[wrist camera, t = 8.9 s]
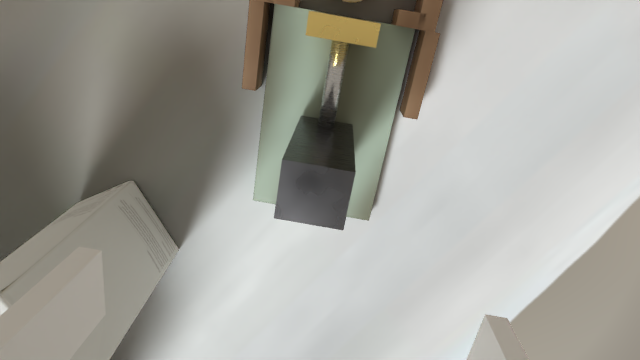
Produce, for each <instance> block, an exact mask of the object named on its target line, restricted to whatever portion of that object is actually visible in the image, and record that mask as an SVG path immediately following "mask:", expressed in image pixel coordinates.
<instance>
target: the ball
mask: <svg viewBox="0 0 640 360" xmlns="http://www.w3.org/2000/svg"><path fill="white" fill-rule="evenodd" d="M342 1H344V2H348V3H355V2H360V1H362V0H342Z"/></svg>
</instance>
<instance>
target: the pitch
mask: <svg viewBox="0 0 640 360" xmlns="http://www.w3.org/2000/svg"><path fill="white" fill-rule="evenodd" d="M270 3H274V4H275V5H274V14H273V23H272V32H271V41H270V50H269V59H268V68H267V77H266V86H265V96H264V105H263V114H262V123H261V132H260V141H259V150H258V159H257V168H256V177H255V186H254V196H253V200H254V201H259V202H265V203H271V204H276V200H277V193H278V185H279V178H280V170H281V163H282V158H283V156H284V154H285V151H286V149H287V147H288V144H289V142H290V140H291V138H292V135H293V133H294V131H295V128H296V126H297V124H298V121H299V119H300V117H301V115H303V116H308V117H314V118H319V114H320V108H321V102H322V96H323V90H324V84H325V78H326V72H327V66H328V60H329V54H330V48H331V42H332V40H329V39H324V38H318V37H312V36H307V35H306V27H307V20H308V13H309V11H315V10H309V9H303V8H299V4H300V0H249V12H248V23H247V35H246V46H245V58H244V69H243V81H242V88H243V89H249V90H254V91H256V90H257V89H258V88H259V87H260V86H261V85H262V78H263V69H264V59H265V50H266V41H267V31H268V22H269V12H270ZM442 3H443V0H417V1H416V5H415V9H414V12H413V11H407V10H401V9H394V14H393V18H392V23H391V24H387V23H381V22H377V23H380V24H381V26H380V31H379V36H378V40H377V45H376V48H374V47H368V46H363V45H357V44H352V43H349V48H348V54H347V59H346V65H345V70H344V75H343V81H342V86H341V92H340V97H339V103H338V108H337V113H336V119H335V121H337V122H342V123H348V124H353V137H354V153H355V169H356V174H355V178H354V183H353V187H352V192H351V197H350V201H349V206H348V211H347V215H346V217H351V218H357V219H362V220H368V221H369V218H370V214H371V210H372V206H373V201H374V197H375V193H376V189H377V185H378V181H379V177H380V173H381V168H382V164H383V160H384V156H385V152H386V148H387V144H388V140H389V136H390V131H391V127H392V123H393V119H394V115H395V111H396V107H397V103H398V98H399V94H400V90H401V86H402V82H403V78H404V74H405V70H406V65H407V61H408V57H409V53H410V49H411V45H412V41H413V37H414V33H415V29H418V30H419V33H418V38H417V42H416V46H415V50H414V54H413V58H412V62H411V66H410V70H409V74H408V78H407V82H406V86H405V90H404V94H403V98H402V102H401V106H400V111H401V113H402V115H403V117H406V118H412V119H417V118H418V115H419V111H420V107H421V103H422V100H423V96H424V92H425V88H426V85H427V81H428V77H429V73H430V70H431V66H432V62H433V58H434V55H435V51H436V47H437V43H438V40H439V36H440V33H436V32H435V29H436V26H437V22H438V18H439V14H440V10H441V7H442ZM316 12H320V11H316ZM322 13H326V12H322ZM327 14H331V13H327ZM333 15H337V14H333ZM339 16H342V15H339ZM344 17H348V16H344ZM350 18H354V17H350ZM355 19H359V18H355ZM361 20H365V19H361ZM366 21H370V20H366ZM372 22H376V21H372Z"/></svg>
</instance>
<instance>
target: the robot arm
mask: <svg viewBox="0 0 640 360" xmlns="http://www.w3.org/2000/svg"><path fill="white" fill-rule="evenodd" d="M105 314H106V312H105V296H104V279H103V263H102V250H97V249H91V248H85V247H78V248H77V249H76V250H75V251H73V252H72V253H71V254H70V255H69V256H68V257H67V258H65V259H64V260H63V261H62V262H61V263H60V264H59V265H57V266H56V267H55V268H54V269H53V270H52V271H51V272H50V273H48V274H47V275H46V276H45V277H44V278H43V279H42V280H40V281H39V282H38V283H37V284H36V285H35V286H34V287H32V288H31V289H30V290H29V291H28V292H27V293H26V294H25V295H23V296H22V297H21V298H20V299H19V300H18V301H17V302H15V303H14V304H13V305H12V306H11V307H10V308H9V309H7V310H6V311H5V312H4V313H3V314H2V315H1V316H0V360H70V359H71V357H72V356H73V355H74V354H75V352H76V351H77V350H78V348H79V347H80V346H81V345H82V343H83V342H84V341H85V340H86V338H87V337H88V336H89V335H90V333H91V332H92V331H93V330H94V328H95V327H96V326H97V324H98V323H99V322H100V321H101V319H102V318H103V317H104V316H105ZM467 360H529V358H528V356H527V354H526V352H525V350H524V349H523V347H522V345H521V343H520V341H519V339H518V338H517V336H516V334H515V332H514V330H513V328H512V326H511V324H510V322H509V321H508V319H507V318H503V317H497V316H491V315H485V316H484V318H483V321H482V323H481V326H480V328H479V331H478V333H477V336H476V338H475V340H474V343H473V345H472V348H471V350H470V353H469V355H468V357H467Z"/></svg>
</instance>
